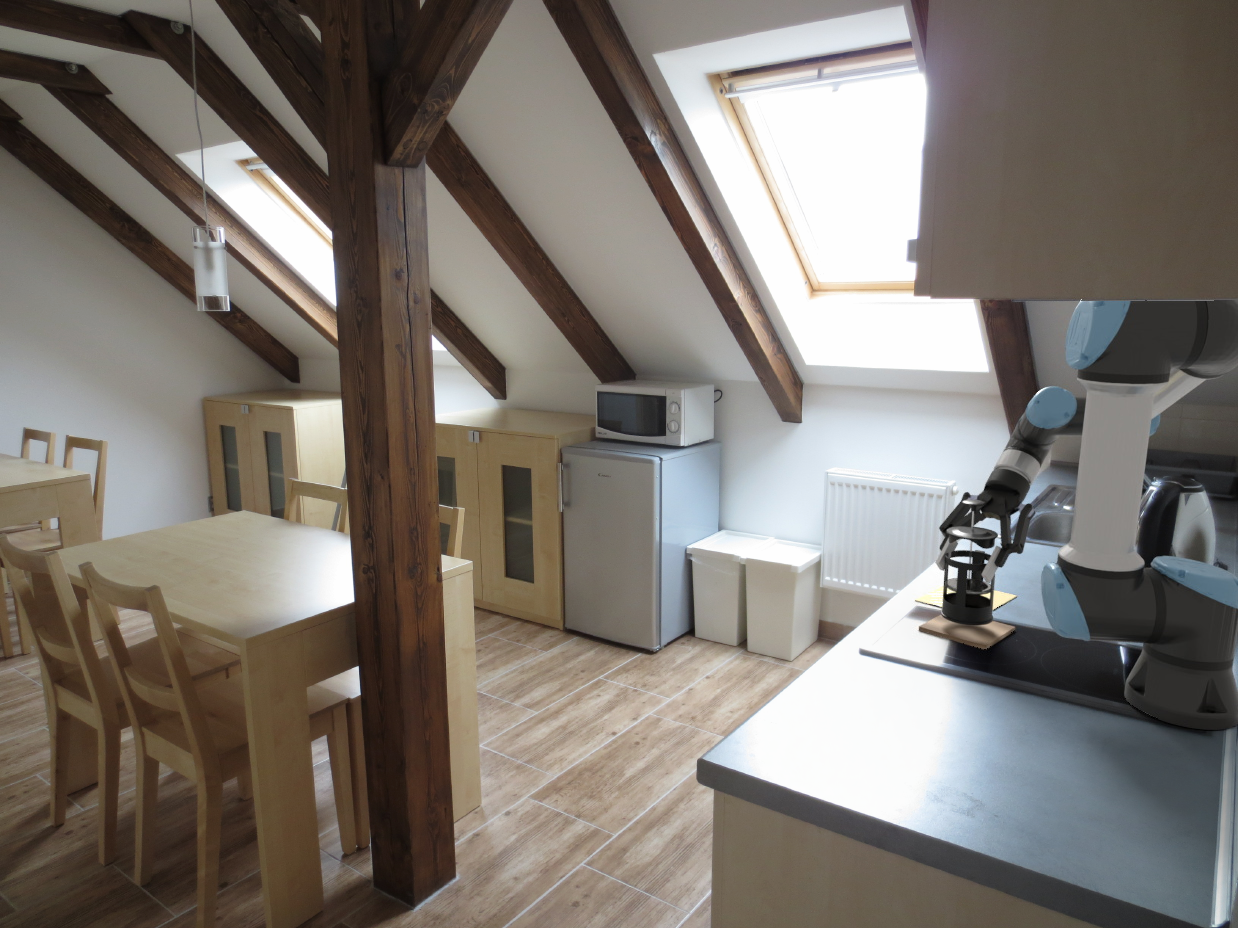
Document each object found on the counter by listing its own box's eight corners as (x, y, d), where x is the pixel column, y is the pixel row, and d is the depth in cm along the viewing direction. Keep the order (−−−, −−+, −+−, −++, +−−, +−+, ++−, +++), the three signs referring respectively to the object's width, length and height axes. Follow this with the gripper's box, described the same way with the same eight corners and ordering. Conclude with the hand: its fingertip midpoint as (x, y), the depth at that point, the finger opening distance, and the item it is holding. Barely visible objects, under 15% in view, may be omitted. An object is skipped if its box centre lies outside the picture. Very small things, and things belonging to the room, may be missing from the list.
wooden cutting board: (985, 649, 152) (985, 645, 151) (918, 630, 161) (918, 626, 161) (1014, 630, 160) (1015, 626, 160) (950, 612, 170) (950, 609, 169)
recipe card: (979, 618, 167) (979, 617, 166) (914, 600, 177) (915, 599, 177) (1017, 596, 178) (1017, 595, 178) (954, 581, 189) (954, 580, 189)
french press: (983, 630, 153) (992, 509, 148) (932, 619, 159) (939, 502, 154) (1001, 612, 162) (1010, 497, 157) (952, 601, 167) (959, 491, 163)
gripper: (1073, 499, 156) (1024, 598, 150) (966, 481, 173) (918, 569, 167) (1062, 475, 152) (1011, 576, 146) (954, 459, 169) (904, 548, 162)
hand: (962, 572), depth 156 cm, fingers closed on french press, 9 cm apart
